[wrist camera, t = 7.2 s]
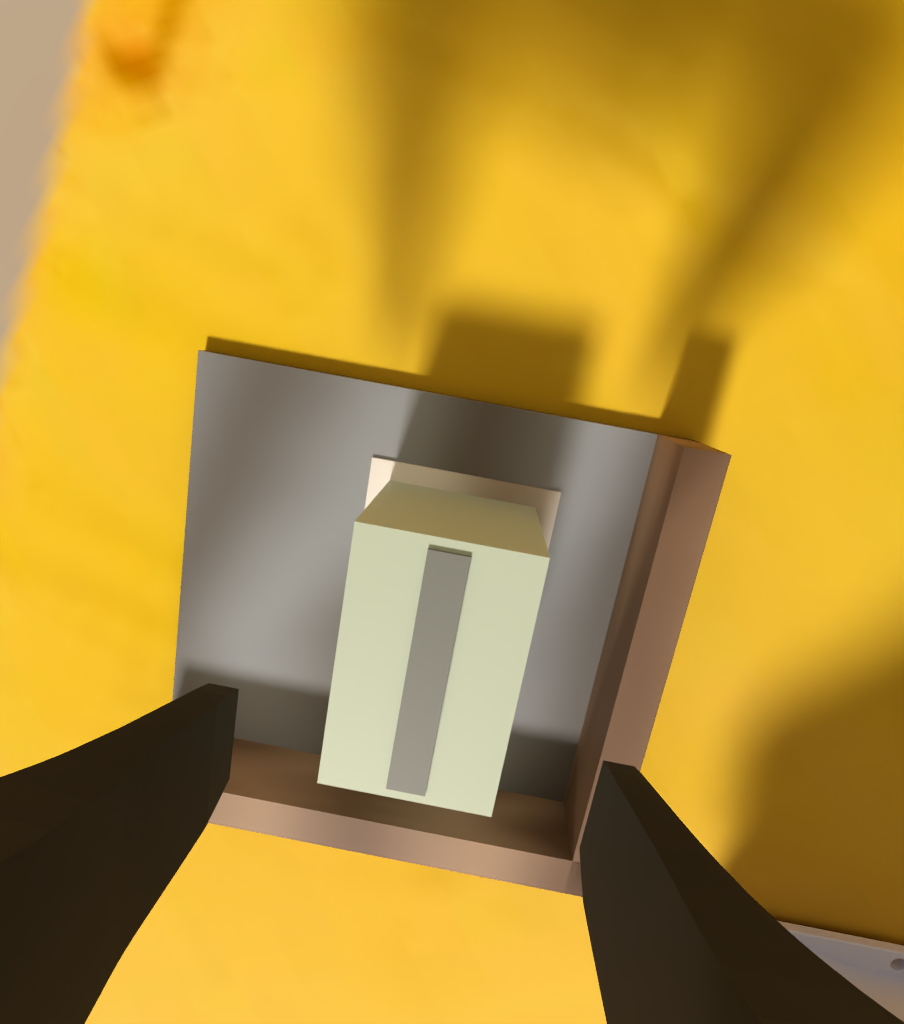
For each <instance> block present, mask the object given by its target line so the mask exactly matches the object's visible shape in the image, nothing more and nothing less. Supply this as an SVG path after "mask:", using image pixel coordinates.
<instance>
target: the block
mask: <svg viewBox="0 0 904 1024" xmlns="http://www.w3.org/2000/svg"><path fill="white" fill-rule="evenodd" d="M549 560H550V556H549V553H548V549H547V546H546V542H545V539H544V536H543V532H542V529H541V525H540V522H539V518H538V515H537V512H536V508H535V507H531V506H526V505H520V504H515V503H510V502H504V501H499V500H493V499H488V498H483V497H477V496H472V495H467V494H461V493H456V492H451V491H445V490H440V489H434V488H429V487H424V486H418V485H413V484H408V483H402V482H397V481H392V480H389V482H388V483H387V484H386V485H385V486H384V487H383V489H382V490H381V491H380V492H379V493H378V494H377V496H376V497H375V498H374V499H373V500H372V501H371V503H370V504H369V505H368V506H367V507H366V509H365V510H364V511H363V512H362V513H361V514H360V516H359V517H358V518H357V519H356V520H355V522H354V529H353V536H352V543H351V550H350V557H349V564H348V571H347V578H346V585H345V592H344V599H343V606H342V613H341V620H340V627H339V634H338V641H337V648H336V655H335V662H334V669H333V676H332V683H331V690H330V697H329V704H328V711H327V718H326V725H325V732H324V739H323V746H322V753H321V760H320V767H319V774H318V781H317V783H320V784H325V785H330V786H335V787H340V788H345V789H350V790H355V791H361V792H366V793H371V794H376V795H381V796H386V797H391V798H396V799H401V800H406V801H412V802H417V803H422V804H427V805H432V806H437V807H442V808H447V809H452V810H457V811H463V812H468V813H473V814H478V815H483V816H488V817H492V812H493V808H494V803H495V799H496V795H497V790H498V786H499V781H500V777H501V772H502V768H503V764H504V759H505V755H506V750H507V746H508V742H509V737H510V733H511V728H512V724H513V719H514V715H515V711H516V706H517V702H518V697H519V693H520V689H521V684H522V680H523V675H524V671H525V666H526V662H527V658H528V653H529V649H530V644H531V640H532V636H533V631H534V627H535V622H536V618H537V613H538V609H539V605H540V600H541V596H542V591H543V587H544V583H545V578H546V574H547V569H548V565H549Z"/></svg>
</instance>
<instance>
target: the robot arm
mask: <svg viewBox="0 0 904 1024" xmlns="http://www.w3.org/2000/svg"><path fill="white" fill-rule="evenodd" d="M238 693H239V689H237V688H232V687H226V686H221V685H216V684H211V683H208V684H205V685H203V686H201V687H199V688H197V689H195V690H193V691H191V692H189V693H187V694H185V695H183V696H181V697H179V698H177V699H175V700H173V701H172V702H170V703H168V704H166V705H164V706H162V707H160V708H158V709H156V710H154V711H152V712H150V713H148V714H146V715H144V716H142V717H140V718H138V719H137V720H135V721H133V722H131V723H129V724H127V725H125V726H123V727H121V728H119V729H116V730H114V731H112V732H110V733H108V734H105V735H103V736H101V737H99V738H97V739H94V740H92V741H90V742H88V743H86V744H84V745H81V746H79V747H77V748H75V749H73V750H70V751H68V752H66V753H63V754H61V755H59V756H56V757H54V758H51V759H49V760H46V761H44V762H41V763H38V764H36V765H33V766H30V767H28V768H25V769H22V770H19V771H17V772H14V773H11V774H8V775H6V776H3V777H0V1024H84V1023H85V1022H86V1020H87V1018H88V1016H89V1014H90V1012H91V1011H92V1009H93V1007H94V1005H95V1003H96V1001H97V999H98V998H99V996H100V994H101V992H102V990H103V988H104V987H105V985H106V983H107V981H108V979H109V977H110V975H111V974H112V972H113V970H114V968H115V966H116V965H117V963H118V961H119V960H120V958H121V956H122V955H123V953H124V951H125V950H126V948H127V946H128V945H129V943H130V942H131V940H132V938H133V937H134V935H135V934H136V932H137V931H138V929H139V928H140V926H141V925H142V923H143V922H144V920H145V919H146V917H147V916H148V914H149V913H150V911H151V909H152V908H153V906H154V905H155V903H156V902H157V900H158V899H159V897H160V896H161V894H162V893H163V891H164V890H165V888H166V887H167V885H168V884H169V882H170V881H171V879H172V878H173V876H174V875H175V873H176V872H177V870H178V869H179V867H180V866H181V864H182V863H183V861H184V860H185V858H186V857H187V855H188V853H189V852H190V850H191V849H192V847H193V846H194V844H195V843H196V841H197V840H198V838H199V837H200V835H201V833H202V832H203V830H204V829H205V827H206V825H207V823H208V821H209V819H210V818H211V816H212V814H213V812H214V810H215V808H216V806H217V804H218V802H219V800H220V798H221V795H222V793H223V791H224V789H225V787H226V785H227V783H228V781H229V779H230V770H231V760H232V750H233V741H234V731H235V722H236V712H237V702H238ZM579 850H580V866H581V881H582V893H583V903H584V909H585V914H586V920H587V925H588V930H589V935H590V941H591V946H592V951H593V956H594V961H595V966H596V971H597V976H598V981H599V986H600V991H601V996H602V1001H603V1006H604V1011H605V1016H606V1021H607V1024H904V946H903V945H898V944H893V943H888V942H883V941H878V940H873V939H868V938H863V937H857V936H852V935H847V934H842V933H837V932H832V931H827V930H822V929H817V928H812V927H807V926H802V925H797V924H792V923H787V922H781V921H777V920H776V919H775V918H774V917H773V916H771V915H770V914H769V913H768V912H767V911H766V910H765V909H764V908H763V907H762V906H761V905H760V904H759V903H758V902H757V901H755V900H754V899H753V898H752V897H751V896H750V895H749V894H748V893H747V892H746V891H745V890H744V889H743V888H742V887H741V886H740V885H739V884H738V882H737V881H736V880H735V879H734V878H733V877H732V876H731V875H730V874H729V873H728V872H727V871H726V870H725V869H724V868H723V867H722V866H721V865H720V864H719V863H718V862H717V861H716V860H715V858H714V857H713V856H712V855H711V854H710V853H709V852H708V851H707V850H706V849H705V847H704V846H703V845H702V844H701V843H700V842H699V841H698V840H697V839H696V837H695V836H694V835H693V834H692V833H691V832H690V830H689V829H688V828H687V827H686V826H685V825H684V824H683V822H682V821H681V820H680V819H679V818H678V817H677V815H676V814H675V813H674V812H673V811H672V809H671V808H670V807H669V806H668V805H667V803H666V802H665V801H664V800H663V799H662V797H661V796H660V795H659V794H658V793H657V792H656V790H655V789H654V788H653V787H652V786H651V784H650V783H649V782H648V781H647V780H646V778H645V777H644V776H643V775H642V774H641V773H640V772H639V771H638V770H637V768H636V767H635V766H630V765H625V764H620V763H615V762H610V761H604V760H603V763H602V766H601V770H600V774H599V778H598V781H597V785H596V789H595V792H594V796H593V800H592V803H591V807H590V811H589V815H588V818H587V822H586V826H585V829H584V833H583V837H582V841H581V844H580V848H579Z"/></svg>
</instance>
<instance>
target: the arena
mask: <svg viewBox="0 0 904 1024" xmlns="http://www.w3.org/2000/svg"><path fill="white" fill-rule="evenodd" d="M730 458H731V455H730V454H727V453H725V452H722V451H720V450H717V449H714V448H712V447H709V446H707V445H704V444H702V443H699V442H697V441H694V440H689V439H684V438H679V437H673V436H668V435H662V434H657V433H651V432H646V431H640V430H635V429H629V428H624V427H619V426H613V425H608V424H602V423H597V422H591V421H586V420H580V419H575V418H569V417H564V416H559V415H553V414H548V413H542V412H537V411H531V410H526V409H520V408H515V407H509V406H504V405H498V404H493V403H488V402H482V401H477V400H471V399H466V398H460V397H455V396H449V395H444V394H438V393H433V392H428V391H422V390H417V389H411V388H406V387H400V386H395V385H389V384H384V383H378V382H373V381H368V380H362V379H357V378H351V377H346V376H340V375H335V374H329V373H324V372H318V371H313V370H308V369H302V368H297V367H291V366H286V365H280V364H275V363H269V362H264V361H258V360H253V359H248V358H242V357H237V356H231V355H226V354H220V353H215V352H209V351H202V350H198V363H197V377H196V390H195V404H194V417H193V431H192V445H191V458H190V472H189V485H188V499H187V513H186V526H185V540H184V553H183V567H182V580H181V594H180V608H179V621H178V635H177V648H176V662H175V676H174V689H173V700H175V699H177V698H179V697H181V696H183V695H185V694H187V693H189V692H191V691H193V690H195V689H197V688H199V687H201V686H203V685H205V684H208V683H211V684H216V685H221V686H226V687H232V688H237V689H239V693H238V702H237V712H236V722H235V731H234V741H233V750H232V760H231V770H230V779H229V781H228V783H227V785H226V787H225V789H224V791H223V793H222V795H221V798H220V800H219V802H218V804H217V806H216V808H215V810H214V812H213V814H212V816H211V818H210V819H209V821H208V823H212V824H217V825H222V826H227V827H232V828H237V829H242V830H247V831H252V832H257V833H262V834H268V835H273V836H278V837H283V838H288V839H293V840H298V841H303V842H308V843H313V844H318V845H323V846H328V847H333V848H338V849H343V850H348V851H354V852H359V853H364V854H369V855H374V856H379V857H384V858H389V859H394V860H399V861H404V862H409V863H414V864H419V865H424V866H429V867H434V868H440V869H445V870H450V871H455V872H460V873H465V874H470V875H475V876H480V877H485V878H490V879H495V880H500V881H505V882H510V883H515V884H520V885H526V886H531V887H536V888H541V889H546V890H551V891H556V892H561V893H566V894H571V895H576V896H581V897H583V893H582V881H581V866H580V850H579V848H580V844H581V841H582V837H583V833H584V829H585V826H586V822H587V818H588V815H589V811H590V807H591V803H592V800H593V796H594V792H595V789H596V785H597V781H598V778H599V774H600V770H601V766H602V763H603V760H604V761H610V762H615V763H620V764H625V765H630V766H635V767H636V768H637V770H638V771H639V772H640V769H641V766H642V762H643V759H644V755H645V752H646V748H647V745H648V742H649V738H650V735H651V731H652V728H653V724H654V721H655V717H656V714H657V710H658V707H659V704H660V700H661V697H662V693H663V690H664V686H665V683H666V679H667V676H668V672H669V669H670V666H671V662H672V659H673V655H674V652H675V648H676V645H677V641H678V638H679V634H680V631H681V628H682V624H683V621H684V617H685V614H686V610H687V607H688V603H689V600H690V596H691V593H692V590H693V586H694V583H695V579H696V576H697V572H698V569H699V565H700V562H701V558H702V555H703V552H704V548H705V545H706V541H707V538H708V534H709V531H710V527H711V524H712V520H713V517H714V514H715V510H716V507H717V503H718V500H719V496H720V493H721V489H722V486H723V482H724V479H725V476H726V472H727V469H728V465H729V462H730ZM389 480H392V481H397V482H402V483H408V484H413V485H418V486H424V487H429V488H434V489H440V490H445V491H451V492H456V493H461V494H467V495H472V496H477V497H483V498H488V499H493V500H499V501H504V502H510V503H515V504H520V505H526V506H531V507H535V508H536V512H537V515H538V518H539V522H540V525H541V529H542V532H543V536H544V539H545V542H546V546H547V549H548V553H549V556H550V560H549V565H548V569H547V574H546V578H545V583H544V587H543V591H542V596H541V600H540V605H539V609H538V613H537V618H536V622H535V627H534V631H533V636H532V640H531V644H530V649H529V653H528V658H527V662H526V666H525V671H524V675H523V680H522V684H521V689H520V693H519V697H518V702H517V706H516V711H515V715H514V719H513V724H512V728H511V733H510V737H509V742H508V746H507V750H506V755H505V759H504V764H503V768H502V772H501V777H500V781H499V786H498V790H497V795H496V799H495V803H494V808H493V812H492V817H488V816H483V815H478V814H473V813H468V812H463V811H457V810H452V809H447V808H442V807H437V806H432V805H427V804H422V803H417V802H412V801H406V800H401V799H396V798H391V797H386V796H381V795H376V794H371V793H366V792H361V791H355V790H350V789H345V788H340V787H335V786H330V785H325V784H320V783H317V781H318V774H319V767H320V760H321V753H322V746H323V739H324V732H325V725H326V718H327V711H328V704H329V697H330V690H331V683H332V676H333V669H334V662H335V655H336V648H337V641H338V634H339V627H340V620H341V613H342V606H343V599H344V592H345V585H346V578H347V571H348V564H349V557H350V550H351V543H352V536H353V529H354V522H355V520H356V519H357V518H358V517H359V516H360V514H361V513H362V512H363V511H364V510H365V509H366V507H367V506H368V505H369V504H370V503H371V501H372V500H373V499H374V498H375V497H376V496H377V494H378V493H379V492H380V491H381V490H382V489H383V487H384V486H385V485H386V484H387V483H388V482H389Z"/></svg>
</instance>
